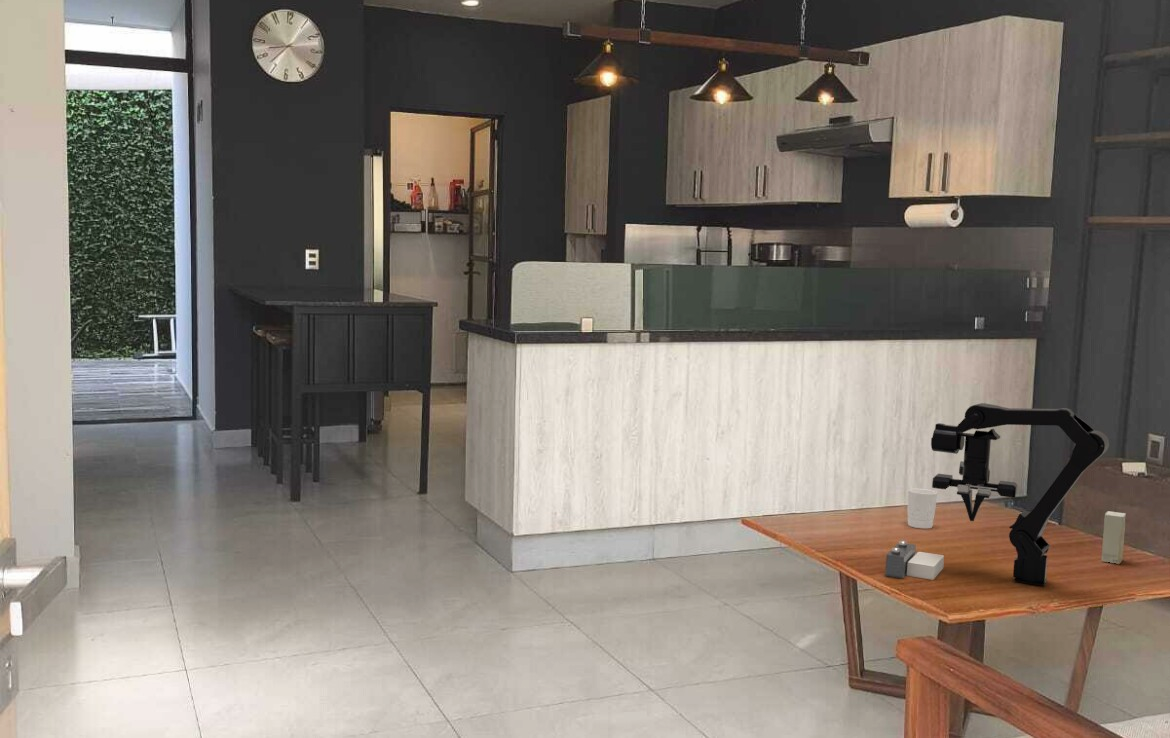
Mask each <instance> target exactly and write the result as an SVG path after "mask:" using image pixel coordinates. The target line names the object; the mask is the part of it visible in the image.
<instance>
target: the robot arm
mask: <svg viewBox="0 0 1170 738" xmlns="http://www.w3.org/2000/svg"><path fill="white" fill-rule="evenodd" d="M1007 425H1008V426H1009V425H1010V426H1014V425H1015V426H1058V428H1060V429H1061V430H1062V431H1063V432H1064V433H1065V435H1066V436H1067V437H1068V439H1070V440H1071V441H1072V442H1073V443H1074V444H1075V445H1074V447H1073V450H1072V452H1071V454H1070V457H1069V460H1068V461H1067V464H1066V465H1064V467H1063V469H1062V470H1061V471H1060V473H1059V475H1058V476H1057V477H1056V479H1055V480H1054V481H1053V482H1052V484H1051V485H1050V486H1049V488H1048V489H1047V491H1046V492H1045V493H1044V495H1042V497H1041V499H1040V500H1039V501H1038V502H1037V504H1036V505H1035V507H1034V508H1033V509H1032V510H1031V511H1030V512H1028V511H1027V510H1025V509H1024V510H1023V511H1022V512H1020V513H1019V514H1018V516H1017V518H1016V520H1015V522H1014V523H1013V524H1011V525H1010V526H1009V529H1011V530H1010V531H1009V534H1008V537H1009V541H1010V543H1011V545H1012V546H1013V547H1014V548H1015V551H1016V554H1017V556H1016V557H1015V559H1014V560H1013V561H1014V562H1013V573H1012V577H1013V578H1014V580H1013V581H1014V582H1016V583H1022V584H1030V585H1035V586H1040V587H1044V586H1045V585H1046V582H1047V567H1048V565H1047V564H1048V557H1049V556H1048V555H1046V554H1047V553H1048V552H1049V550H1050V548H1051V545H1050V544H1049V543H1048V541H1046V539H1045V538H1044V537H1043V536H1042V534H1043V533H1044V531H1045V528H1046V526H1047V523H1048V522H1049V519H1050V517H1052V515H1053V513H1054V512H1055V510H1057V508H1058V506H1059V505H1060V504H1061V503H1062V502H1063V500H1064V498H1065V497H1066V496H1067V494H1069V492H1070V490H1071V489H1072V488H1073V486H1074V485H1075V484H1076V482H1077V481H1078V480H1079V479H1080V477H1081V476H1082V474H1084V472H1085V471H1086V470H1087V469H1088V468H1089V467H1090V466H1091V465H1093V464H1094V463H1095V462H1096V461H1097V460H1098V459H1100V457H1101V456H1102V455H1104V454H1105V453H1106V452H1107V451H1108V449H1109V447H1110V440H1109V438H1108V436H1107V435H1106V434H1105V433H1104V432H1102V431H1100V430H1095V429H1094V428H1093V427H1092V426H1090V425H1089V424H1088V423H1087V422H1086V421H1084V420H1083V419H1082V418H1080V417H1079V416H1078V415H1077V414H1075V413H1074V411H1073V410H1072V409H1071V408H1067V407H1062V408H1011V407H1010V408H1009V407H1006V406H1005V407H1003V406H1001V405H996V404H991V403H990V404H989V403H985V402H982V403H981V402H980V403H977V404H974V405H970V406H969V407H968V408H967V409H966V411H965V412H964V418H963V419H962V420H961V421H960V422H959V423H958V424H957V425H951V424H945V423H936V424H935V426H934V430H933V432H932V433H933V434H932V437H930V439H931V440H930V447H931V451H933V452H939V453H946V454H947V453H949V454H955V455H958V454H959V451H963V449H964V452H963V461H961V460H960V463H959V470H958V473H959V476H962V479H959V478H953V477H954V476H953V474H945V473H944V474H943V473H937V474H935V476H934V477H933V478H932V484H931V488H933V489H940V490H946V489H948V488H949V487H954V488H957V491H956V495H958V496H961V499H962V501H963V504H964V506H965V508H966V512H967V514H968V515H967V516H968V520H969V521H970V522H974V521H975V519H976V517H977V514H978V512H979V509H980V507H981V506H982V503H983V501H984V500H985V499H989V498H990V497H991V495H992V492H997V494H998V495H999V496H1000V497H1006V498H1016V496H1017V495H1018V484H1017V483H1016V482H1014V481H1005V480H999V481H998V483H993V482H992V483H991V482H990V476H991V472H990V471H991V470H990V456H991V445H992V444H991V443H992V441H998V440H999V439H1001V435H1000V434H999V433H997V432H996V429H994V428H995V427H1000V426H1007ZM989 428H991V429H990V430H988V431H985V430H982V429H989ZM971 430H975V431H974V433H968V432H967V431H971ZM973 490H977V493H976V494H975V497H974V503H973Z"/></svg>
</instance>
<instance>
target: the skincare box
mask: <svg viewBox="0 0 1170 738" xmlns="http://www.w3.org/2000/svg"><path fill="white" fill-rule="evenodd" d="M1126 515H1127V513H1126V512H1116V511H1110V510H1108V511H1106V512H1105V514H1104V520H1103V521H1104V522H1103V532H1102V533H1103V536H1102V548H1101V561H1100V562H1104V563H1108V562H1110V563H1109V564H1114V563H1116V565H1120V564H1121V563H1122V561H1123V556H1124V545H1125V532H1126V531H1125V528H1126Z"/></svg>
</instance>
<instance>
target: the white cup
mask: <svg viewBox="0 0 1170 738" xmlns="http://www.w3.org/2000/svg"><path fill="white" fill-rule="evenodd" d="M937 498H938V492H937V491H935V490H933V489H930V488H929V489H927V488H919V487H918V488H915V487H914V488H912V487H911V488H909V489H907V508H906V509H907V510H906V511H907V526H908V527H911V528H915V529H924V530H926V529H932V528H933V525H934V518H935V513H936V507H937V506H936V505H937Z"/></svg>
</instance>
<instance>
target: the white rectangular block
mask: <svg viewBox="0 0 1170 738" xmlns="http://www.w3.org/2000/svg"><path fill="white" fill-rule="evenodd" d="M944 562H945V555H942V554H936V553H930V552H923V551H917V553H915V556H914V557H913V558H912V559H910V560H909V561H908V564H907V574H906V576H907V577H914V578H918V579H919V578H920V579H926V580H931V581H934V579H936V577H938V575H939V574H940V573H941V572H942V571H943V569H944V566H945V563H944Z"/></svg>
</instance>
